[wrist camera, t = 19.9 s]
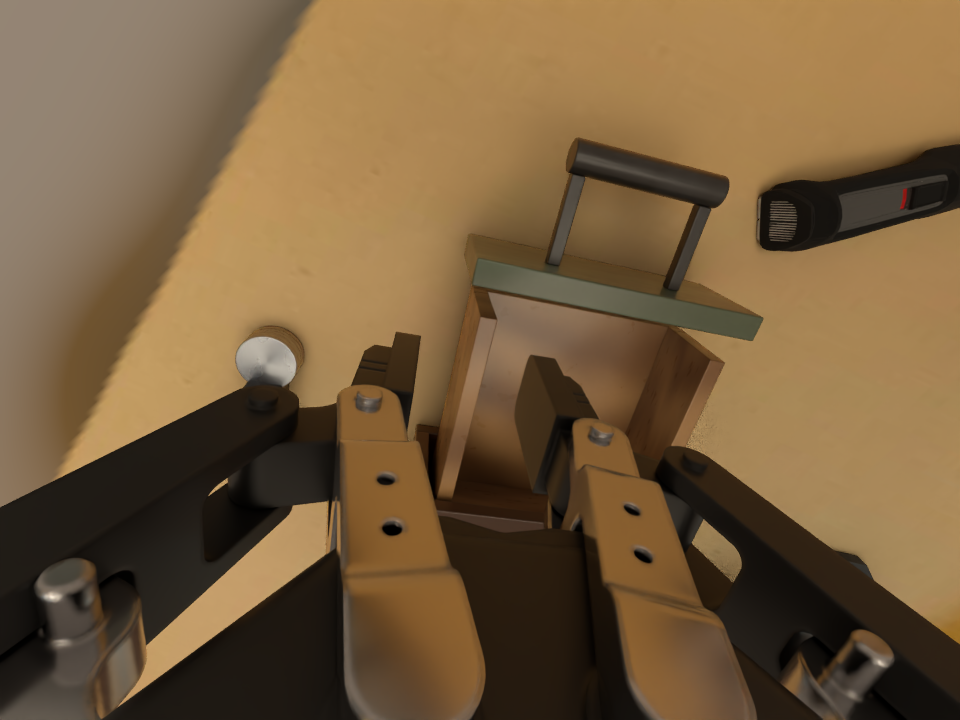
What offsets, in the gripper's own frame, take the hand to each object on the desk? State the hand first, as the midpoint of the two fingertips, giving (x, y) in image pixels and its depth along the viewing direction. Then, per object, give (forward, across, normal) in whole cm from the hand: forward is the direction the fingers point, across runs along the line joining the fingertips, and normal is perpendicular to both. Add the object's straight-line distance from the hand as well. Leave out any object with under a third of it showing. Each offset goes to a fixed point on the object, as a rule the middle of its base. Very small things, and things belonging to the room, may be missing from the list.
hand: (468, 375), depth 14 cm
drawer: (+13, -7, +3) cm, 15 cm away
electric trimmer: (+14, -23, -9) cm, 28 cm away
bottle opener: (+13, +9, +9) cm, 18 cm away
